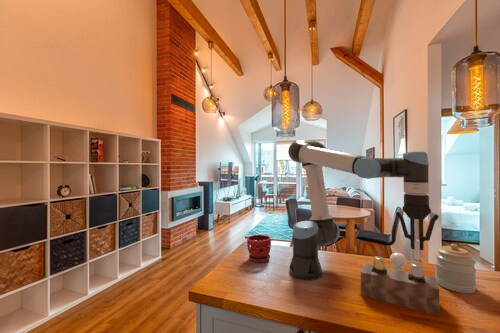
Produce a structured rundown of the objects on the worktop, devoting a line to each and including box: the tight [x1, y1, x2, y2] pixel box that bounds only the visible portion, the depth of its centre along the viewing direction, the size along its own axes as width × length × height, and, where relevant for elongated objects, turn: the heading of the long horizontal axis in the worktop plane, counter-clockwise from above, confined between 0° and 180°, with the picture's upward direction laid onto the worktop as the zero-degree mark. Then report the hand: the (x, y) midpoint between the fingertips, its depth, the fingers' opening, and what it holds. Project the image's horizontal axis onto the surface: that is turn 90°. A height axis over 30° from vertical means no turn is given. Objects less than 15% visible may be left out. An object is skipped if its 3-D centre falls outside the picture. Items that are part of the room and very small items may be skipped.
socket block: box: [360, 262, 440, 317], centre depth 89 cm, size 24×10×9 cm, turn 57°
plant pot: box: [246, 234, 272, 263], centre depth 127 cm, size 13×13×12 cm
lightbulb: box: [389, 252, 408, 271], centre depth 105 cm, size 6×6×11 cm
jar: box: [434, 243, 477, 294], centre depth 98 cm, size 13×13×18 cm
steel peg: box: [409, 262, 424, 283], centre depth 85 cm, size 4×4×8 cm
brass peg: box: [372, 255, 387, 275], centre depth 92 cm, size 4×4×8 cm
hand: (417, 258), depth 85 cm, fingers closed
